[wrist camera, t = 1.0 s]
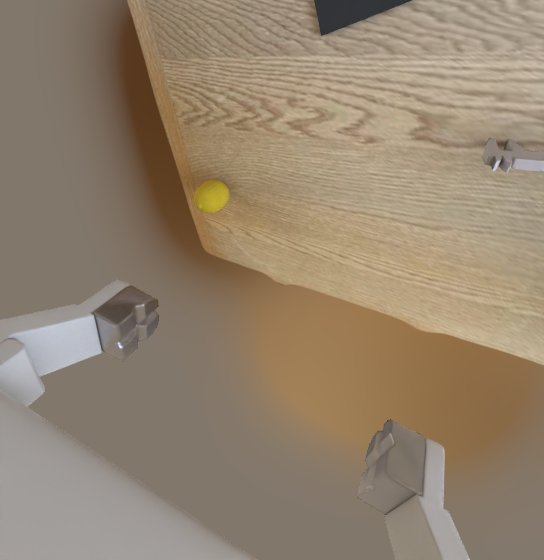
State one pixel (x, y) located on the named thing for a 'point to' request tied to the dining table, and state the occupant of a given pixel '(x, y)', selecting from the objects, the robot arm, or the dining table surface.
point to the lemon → (211, 196)
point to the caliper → (512, 157)
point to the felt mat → (349, 11)
